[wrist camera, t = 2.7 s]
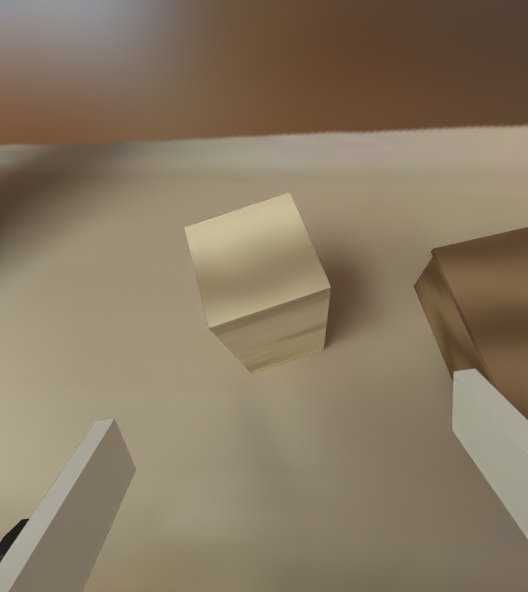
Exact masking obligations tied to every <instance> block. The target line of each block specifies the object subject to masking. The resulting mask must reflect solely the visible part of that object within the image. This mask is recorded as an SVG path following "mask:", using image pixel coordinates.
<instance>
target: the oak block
mask: <svg viewBox="0 0 528 592" xmlns="http://www.w3.org/2000/svg"><path fill="white" fill-rule="evenodd" d="M184 228H185V232H186V237H187V241H188V245H189V249H190V253H191V257H192V261H193V265H194V269H195V273H196V277H197V281H198V285H199V290H200V294H201V298H202V302H203V306H204V310H205V314H206V318H207V322H208V326H209V329H210V330H211V331H212V332H213V333H214V334H215V335H216V336H217V337H218V338H219V339H220V340H221V342H222V343H223V344H224V345H225V346H226V347H227V348H228V349H229V350H230V351H231V352H232V353H233V355H234V356H235V357H236V358H237V359H238V360H239V361H240V362H241V363H242V364H243V365H244V366H245V367H246V369H247V370H248V371H249V372H250V373H251V374H253V373H256V372H259V371H262V370H265V369H268V368H271V367H274V366H277V365H280V364H283V363H286V362H289V361H292V360H295V359H298V358H301V357H304V356H307V355H310V354H313V353H316V352H319V351H322V350H324V342H325V334H326V325H327V317H328V309H329V301H330V292H331V286H330V283H329V281H328V279H327V276H326V274H325V272H324V270H323V267H322V265H321V263H320V260H319V258H318V256H317V253H316V251H315V249H314V247H313V244H312V242H311V240H310V237H309V235H308V233H307V230H306V228H305V226H304V224H303V221H302V219H301V217H300V214H299V212H298V210H297V207H296V205H295V203H294V200H293V198H292V196H291V194H290V192H288V193H286V194H283V195H280V196H277V197H274V198H271V199H268V200H265V201H262V202H259V203H256V204H253V205H250V206H247V207H244V208H241V209H238V210H235V211H232V212H229V213H226V214H223V215H220V216H217V217H214V218H211V219H208V220H205V221H202V222H199V223H196V224H193V225H190V226H187V227H184Z"/></svg>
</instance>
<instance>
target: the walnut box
mask: <svg viewBox="0 0 528 592" xmlns="http://www.w3.org/2000/svg"><path fill="white" fill-rule="evenodd" d="M431 253H432V255H433V257H432V259H431V261H430V262H429V264H428V265H427V267H426V268H425V270H424V271H423V273H422V274H421V276H420V277H419V279H418V281H417V282H416V284H415V285H414V288H415V290H416V293H417V295H418V298H419V300H420V302H421V305H422V307H423V310H424V312H425V315H426V317H427V319H428V322H429V324H430V327H431V329H432V332H433V334H434V336H435V339H436V341H437V344H438V346H439V349H440V351H441V353H442V356H443V358H444V361H445V363H446V366H447V368H448V370H449V373H450V375H451V378H452V380H453V379H454V371H461V370H468V369H476V370H477V371H478V372H479V373H480V374H481V375H482V376H483V377H484V378H485V379H486V380H487V381H488V382H489V383H490V384H491V385H492V386H493V387H494V388H495V389H496V390H497V391H498V392H499V393H500V394H501V395H503V396H504V397H505V398H506V399H507V400H508V401H509V402H510V403H511V404H512V405H513V406H514V407H515V408H516V409H517V410H518V411H519V412H520V413H521V414H522V415H523V416H524V417H525V418H526V419H527V420H528V227H527V228H523V229H518V230H514V231H509V232H505V233H501V234H496V235H492V236H487V237H483V238H479V239H474V240H470V241H465V242H461V243H456V244H452V245H448V246H443V247H439V248H434V249H432V251H431Z"/></svg>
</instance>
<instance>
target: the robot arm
mask: <svg viewBox="0 0 528 592" xmlns="http://www.w3.org/2000/svg"><path fill="white" fill-rule="evenodd" d="M452 431H453V432H454V433H455V435H456V436H457V438H458V439H459V441H460V442H461V444H462V445H463V446H464V448H465V449H466V451H467V452H468V454H469V455H470V457H471V458H472V459H473V461H474V462H475V464H476V465H477V467H478V468H479V470H480V471H481V472H482V474H483V475H484V477H485V478H486V480H487V481H488V483H489V484H490V486H491V487H492V488H493V490H494V491H495V493H496V494H497V496H498V497H499V499H500V500H501V501H502V503H503V504H504V506H505V507H506V509H507V510H508V512H509V513H510V514H511V516H512V517H513V519H514V520H515V522H516V523H517V525H518V526H519V528H520V529H521V530H522V532H523V533H524V535H525V536H526V538H527V539H528V420H527V419H526V418H525V417H524V416H523V415H522V414H521V413H520V412H519V411H518V410H517V409H516V408H515V407H514V406H513V405H512V404H511V403H510V402H509V401H508V400H507V399H506V398H505V397H504V396H503V395H501V394H500V393H499V392H498V391H497V390H496V389H495V388H494V387H493V386H492V385H491V384H490V383H489V382H488V381H487V380H486V379H485V378H484V377H483V376H482V375H481V374H480V373H479V372H478V371H477V370H476V369H468V370H461V371H454V379H453V413H452ZM135 470H136V468H135V466H134V463H133V461H132V458H131V456H130V454H129V451H128V449H127V447H126V444H125V442H124V439H123V437H122V435H121V432H120V430H119V428H118V425H117V423H116V420H115V418H111V419H104V420H97V421H96V422H95V423H94V425H93V426H92V428H91V429H90V431H89V432H88V434H87V435H86V437H85V438H84V439H83V441H82V442H81V444H80V445H79V447H78V448H77V450H76V451H75V453H74V454H73V456H72V457H71V459H70V460H69V462H68V463H67V465H66V466H65V468H64V469H63V470H62V472H61V473H60V475H59V476H58V478H57V479H56V481H55V482H54V484H53V485H52V487H51V488H50V490H49V491H48V493H47V494H46V496H45V497H44V499H43V500H42V501H41V503H40V504H39V506H38V507H37V509H36V510H35V512H34V513H33V515H32V516H31V518H30V519H22V520H21V521H20V522H19V523H18V524H17V525H16V526H15V527H14V528H13V529H12V530H11V531H10V532H8V533H7V534H6V535H5V536H4V537H3V539H2V540H1V542H0V592H82V591H83V589H84V587H85V584H86V582H87V580H88V578H89V575H90V573H91V571H92V568H93V566H94V564H95V562H96V559H97V557H98V555H99V552H100V550H101V548H102V546H103V543H104V541H105V539H106V536H107V534H108V532H109V530H110V527H111V525H112V523H113V520H114V518H115V516H116V514H117V511H118V509H119V507H120V505H121V502H122V500H123V498H124V495H125V493H126V491H127V489H128V486H129V484H130V482H131V479H132V477H133V475H134V473H135Z"/></svg>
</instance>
